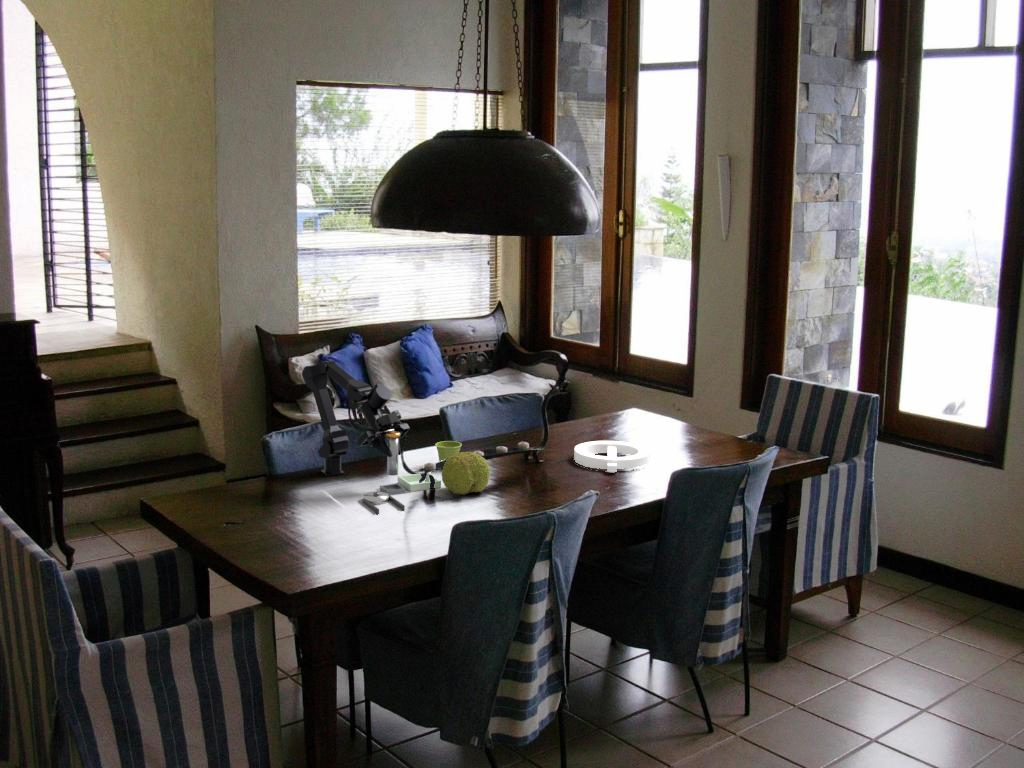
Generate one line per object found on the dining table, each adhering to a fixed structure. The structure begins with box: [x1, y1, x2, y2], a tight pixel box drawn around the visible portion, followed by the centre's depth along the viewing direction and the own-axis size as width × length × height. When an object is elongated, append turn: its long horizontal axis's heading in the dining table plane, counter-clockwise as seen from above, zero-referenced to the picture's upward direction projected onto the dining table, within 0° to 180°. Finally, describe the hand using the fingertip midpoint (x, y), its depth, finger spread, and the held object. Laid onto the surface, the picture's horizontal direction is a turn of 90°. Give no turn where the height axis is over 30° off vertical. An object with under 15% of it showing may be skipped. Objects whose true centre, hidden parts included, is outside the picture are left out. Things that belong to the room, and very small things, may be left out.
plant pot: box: [435, 440, 462, 462], centre depth 404 cm, size 9×9×9 cm
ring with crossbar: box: [573, 440, 651, 473], centre depth 418 cm, size 28×28×5 cm
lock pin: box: [386, 431, 400, 477], centre depth 371 cm, size 5×5×14 cm
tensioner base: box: [375, 483, 411, 497], centre depth 373 cm, size 9×9×2 cm
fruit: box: [441, 451, 491, 495], centre depth 374 cm, size 16×14×15 cm
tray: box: [397, 473, 442, 493], centre depth 380 cm, size 11×11×3 cm
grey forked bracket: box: [362, 491, 406, 516], centre depth 359 cm, size 16×9×3 cm, turn 29°
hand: (395, 455), depth 370 cm, fingers closed on lock pin, 4 cm apart
